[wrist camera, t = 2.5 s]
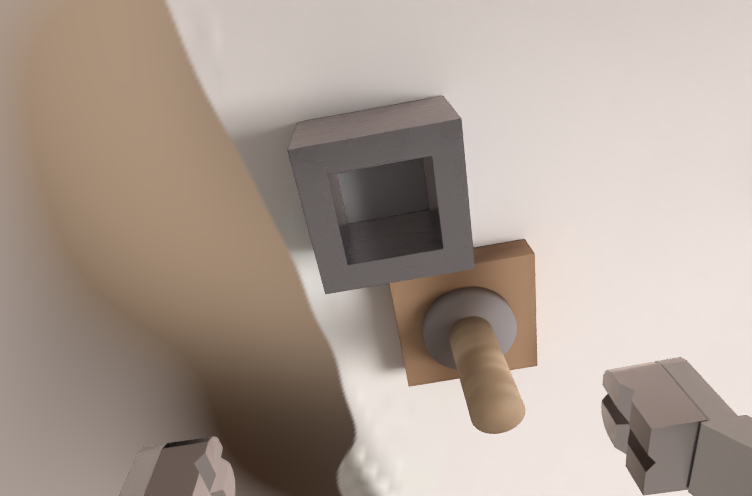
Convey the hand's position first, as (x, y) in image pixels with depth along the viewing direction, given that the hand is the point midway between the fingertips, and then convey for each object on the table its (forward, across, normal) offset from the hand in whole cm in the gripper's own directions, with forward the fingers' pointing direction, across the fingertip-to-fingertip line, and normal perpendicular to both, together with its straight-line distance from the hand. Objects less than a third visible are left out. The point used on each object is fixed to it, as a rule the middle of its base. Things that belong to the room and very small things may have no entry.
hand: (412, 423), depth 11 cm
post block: (+14, -3, +8) cm, 17 cm away
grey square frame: (+14, 0, 0) cm, 15 cm away
